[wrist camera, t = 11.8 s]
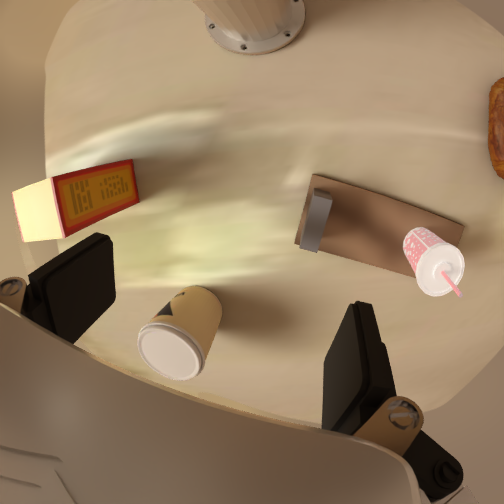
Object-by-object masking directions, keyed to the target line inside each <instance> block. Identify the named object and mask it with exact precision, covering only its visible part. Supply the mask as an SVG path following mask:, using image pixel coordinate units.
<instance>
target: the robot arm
mask: <svg viewBox="0 0 504 504" xmlns="http://www.w3.org/2000/svg"><path fill="white" fill-rule="evenodd" d="M192 1H193V2H194V3H195V4H196V5H197V6H198V7H199V8H200V9H201V10H202V11H203V12H204V13H205V25H206V28H207V31H208V33H209V34H210V36H211V37H212V38H213V39H214V40H215V41H216V42H217V43H218V44H219V45H220V46H221V47H223V48H225V49H227V50H229V51H232V52H235V53H238V54H244V55H259V54H266V53H269V52H273V51H276V50H278V49H280V48H282V47H284V46H285V45H287V44H288V43H290V42H291V41H292V40H293V39H294V38H295V37H296V36H297V35H298V34H299V32H300V30H301V29H302V27H303V24H304V21H305V6H304V3H303V0H192ZM294 1H298V2H294ZM213 27H215V28H213ZM286 35H290V36H289V37H286ZM244 48H247V49H246V50H244ZM28 277H29V282H30V284H29V285H27V284H26V282H25V280H24V279H23V278H20V277H10V278H6V279H4V280H2V281H1V282H0V504H479V503H478V501H477V500H476V498H475V497H474V495H473V494H472V492H471V490H470V489H469V488H468V486H465V487H463V486H462V484H461V483H462V481H463V469H462V467H461V465H460V463H459V462H458V461H457V460H456V459H455V458H454V457H453V456H452V455H451V454H449V453H448V452H447V451H445V450H444V449H443V448H442V447H441V446H440V445H438V444H437V443H436V442H435V441H434V440H433V439H431V438H430V437H429V436H428V435H427V434H425V433H424V432H423V431H422V430H421V428H422V426H423V423H424V417H423V413H422V411H421V409H420V408H419V406H418V405H417V404H416V403H415V402H414V401H412V400H410V399H408V398H406V397H402V396H397V395H396V390H395V385H394V380H393V375H392V371H391V366H390V362H389V358H388V353H387V349H386V346H385V344H384V343H383V342H381V337H380V333H379V329H378V325H377V322H376V318H375V314H374V310H373V307H372V304H369V303H365V302H360V301H356V302H355V304H350V305H349V306H348V309H347V311H346V313H345V316H344V318H343V320H342V323H341V325H340V327H339V329H338V331H337V334H336V336H335V338H334V340H333V342H332V345H331V347H330V349H329V351H328V353H327V355H326V357H325V361H324V376H323V410H322V429H320V428H315V427H310V426H305V425H300V424H295V423H290V422H286V421H281V420H277V419H273V418H268V417H264V416H260V415H256V414H252V413H248V412H245V411H240V410H237V409H233V408H230V407H226V406H223V405H219V404H216V403H213V402H209V401H207V400H204V399H200V398H197V397H194V396H191V395H189V394H186V393H183V392H180V391H177V390H174V389H172V388H169V387H166V386H164V385H161V384H158V383H156V382H153V381H151V380H148V379H146V378H143V377H141V376H139V375H136V374H134V373H132V372H129V371H127V370H125V369H122V368H120V367H118V366H116V365H114V364H111V363H109V362H107V361H105V360H103V359H101V358H99V357H97V356H95V355H93V354H91V353H89V352H87V351H85V350H83V349H81V348H79V347H77V346H75V345H73V344H74V343H75V342H76V341H77V340H78V339H79V338H80V337H81V336H82V334H83V333H84V332H85V331H86V330H87V329H88V328H89V327H90V326H91V325H92V324H93V323H94V322H95V321H96V320H97V319H98V318H99V317H100V316H101V315H102V314H103V313H104V312H105V311H106V310H107V309H108V308H109V307H110V306H111V305H112V304H113V303H114V301H115V298H116V291H115V277H114V260H113V242H112V241H111V240H110V237H109V236H108V235H105V234H101V233H98V232H96V233H94V234H92V235H90V236H89V237H87V238H85V239H84V240H82V241H80V242H79V243H77V244H76V245H74V246H72V247H71V248H69V249H67V250H66V251H64V252H63V253H61V254H59V255H58V256H56V257H55V258H53V259H52V260H50V261H49V262H47V263H46V264H44V265H43V266H41V267H39V268H38V269H36V270H35V271H34V272H32V273H31V274H29V275H28Z"/></svg>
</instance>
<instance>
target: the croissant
mask: <svg viewBox="0 0 504 504" xmlns="http://www.w3.org/2000/svg"><path fill="white" fill-rule="evenodd" d="M488 122H489V130H488V132H489V133H488V148H489V152H490V157H491V161H492V166H493V167H494V170H495V171H496V173H497V175H498V176H499V177H501V178H503V179H504V77H503V78H501V79H499V80H498V81H497V82H495V84H494V85H493V86H492V87H491V91H490V93H489V121H488Z"/></svg>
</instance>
